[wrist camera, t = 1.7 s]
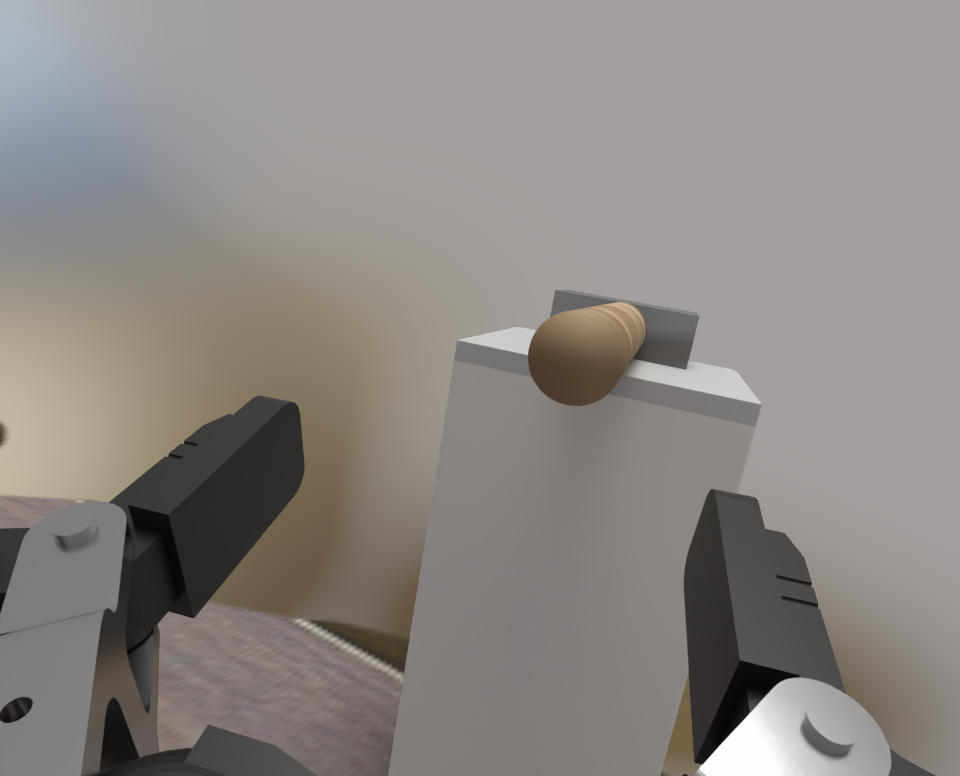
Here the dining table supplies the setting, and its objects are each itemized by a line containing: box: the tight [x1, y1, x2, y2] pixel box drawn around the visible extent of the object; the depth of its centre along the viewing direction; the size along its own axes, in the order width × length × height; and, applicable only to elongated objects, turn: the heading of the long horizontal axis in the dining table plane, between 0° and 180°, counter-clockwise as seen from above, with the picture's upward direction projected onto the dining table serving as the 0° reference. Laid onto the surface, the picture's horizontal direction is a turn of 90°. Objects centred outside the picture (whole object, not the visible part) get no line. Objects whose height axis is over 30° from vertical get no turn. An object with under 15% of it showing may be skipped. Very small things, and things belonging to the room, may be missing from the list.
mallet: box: [528, 290, 699, 406], centre depth 29 cm, size 21×8×3 cm, turn 162°
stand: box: [388, 327, 761, 776], centre depth 36 cm, size 14×12×32 cm
